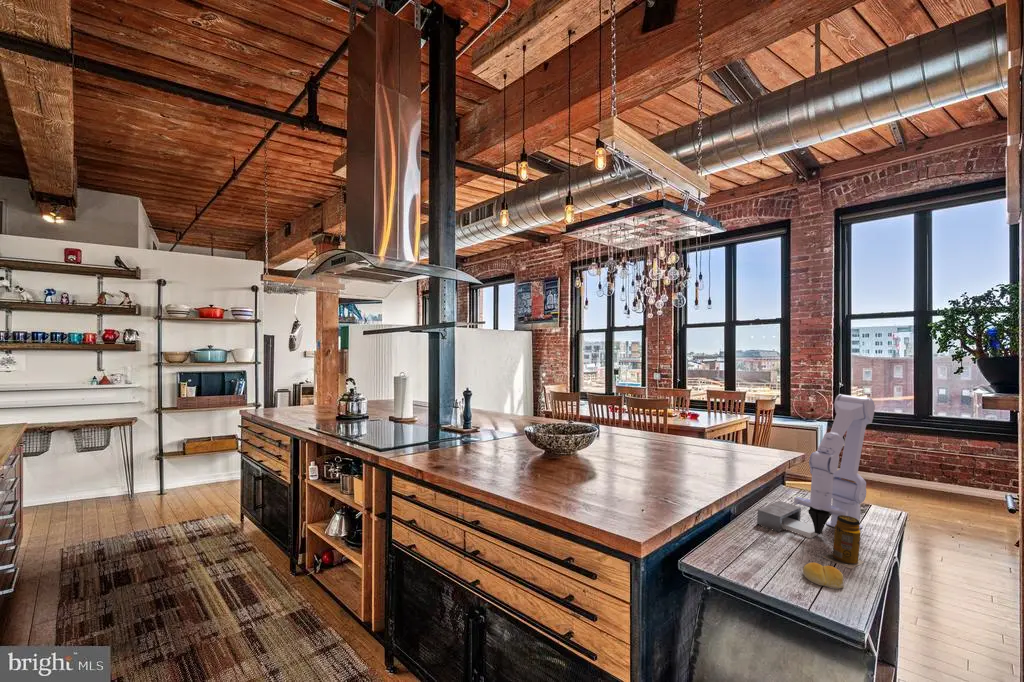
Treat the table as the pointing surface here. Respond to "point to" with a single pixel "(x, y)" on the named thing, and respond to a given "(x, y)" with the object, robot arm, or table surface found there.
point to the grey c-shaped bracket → (777, 514)
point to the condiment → (846, 542)
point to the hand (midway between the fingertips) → (818, 533)
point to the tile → (798, 527)
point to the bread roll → (824, 575)
